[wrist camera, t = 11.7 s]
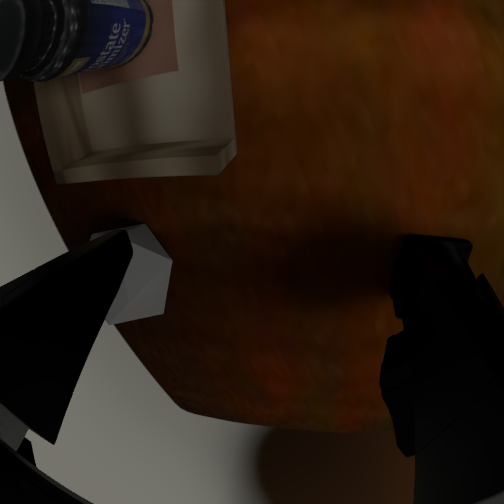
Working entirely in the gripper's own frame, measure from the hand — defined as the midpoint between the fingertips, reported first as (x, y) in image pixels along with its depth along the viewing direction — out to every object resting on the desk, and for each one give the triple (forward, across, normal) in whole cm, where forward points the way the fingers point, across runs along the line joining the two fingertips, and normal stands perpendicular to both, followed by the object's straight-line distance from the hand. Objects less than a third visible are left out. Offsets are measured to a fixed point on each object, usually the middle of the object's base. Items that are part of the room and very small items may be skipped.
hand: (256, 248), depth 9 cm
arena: (+13, +11, -7) cm, 18 cm away
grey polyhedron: (+13, +14, +10) cm, 22 cm away
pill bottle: (+13, +12, -10) cm, 20 cm away
